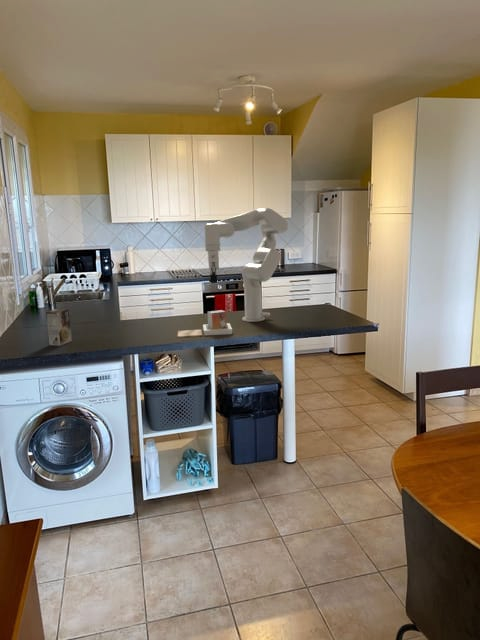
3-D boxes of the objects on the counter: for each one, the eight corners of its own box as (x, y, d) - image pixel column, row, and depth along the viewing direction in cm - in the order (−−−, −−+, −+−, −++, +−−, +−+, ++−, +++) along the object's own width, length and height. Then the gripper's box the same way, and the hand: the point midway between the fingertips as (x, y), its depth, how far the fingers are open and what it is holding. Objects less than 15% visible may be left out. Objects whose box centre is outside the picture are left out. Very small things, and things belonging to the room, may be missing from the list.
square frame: (229, 327, 255) (229, 323, 254) (232, 333, 241) (232, 329, 240) (203, 329, 253) (202, 324, 253) (204, 335, 240) (203, 330, 239)
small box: (212, 333, 243) (211, 313, 241) (207, 331, 248) (207, 311, 246) (226, 331, 246) (226, 311, 244) (222, 329, 251) (221, 309, 249)
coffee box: (61, 340, 239) (57, 308, 235) (72, 341, 237) (69, 308, 233) (49, 345, 230) (45, 311, 227) (60, 345, 228) (56, 312, 225)
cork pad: (201, 330, 250) (201, 329, 250) (202, 336, 238) (202, 334, 238) (178, 331, 249) (177, 330, 249) (177, 337, 237) (177, 336, 237)
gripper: (220, 248, 238) (221, 283, 241) (219, 247, 255) (220, 279, 258) (205, 249, 237) (206, 283, 241) (205, 247, 254) (206, 280, 257)
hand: (213, 281), depth 249 cm, fingers open, 9 cm apart
